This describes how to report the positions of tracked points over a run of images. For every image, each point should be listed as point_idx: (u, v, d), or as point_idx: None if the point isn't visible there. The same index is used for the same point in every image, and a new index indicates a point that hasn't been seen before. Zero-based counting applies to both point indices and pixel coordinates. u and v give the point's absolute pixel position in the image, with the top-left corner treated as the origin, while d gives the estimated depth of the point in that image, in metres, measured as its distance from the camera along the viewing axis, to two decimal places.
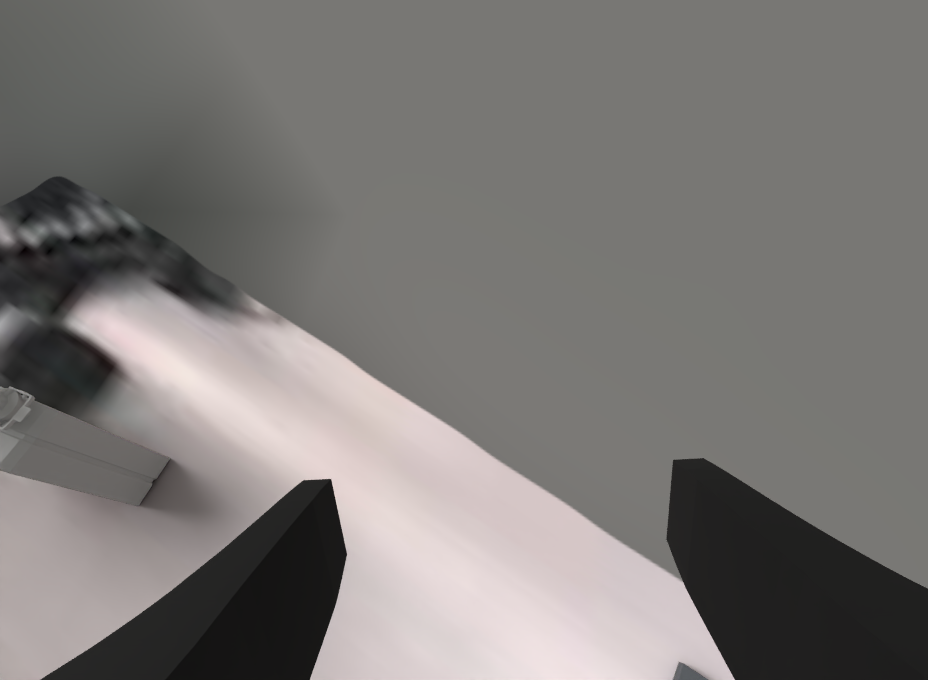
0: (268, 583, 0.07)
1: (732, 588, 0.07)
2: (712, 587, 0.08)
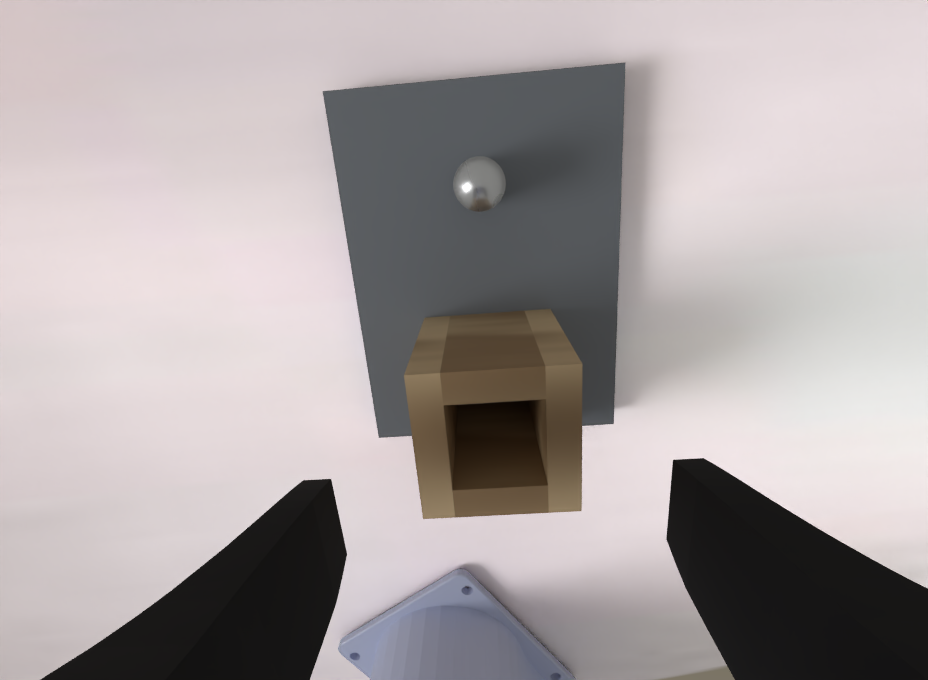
0: (268, 583, 0.07)
1: (732, 588, 0.07)
2: (712, 587, 0.08)
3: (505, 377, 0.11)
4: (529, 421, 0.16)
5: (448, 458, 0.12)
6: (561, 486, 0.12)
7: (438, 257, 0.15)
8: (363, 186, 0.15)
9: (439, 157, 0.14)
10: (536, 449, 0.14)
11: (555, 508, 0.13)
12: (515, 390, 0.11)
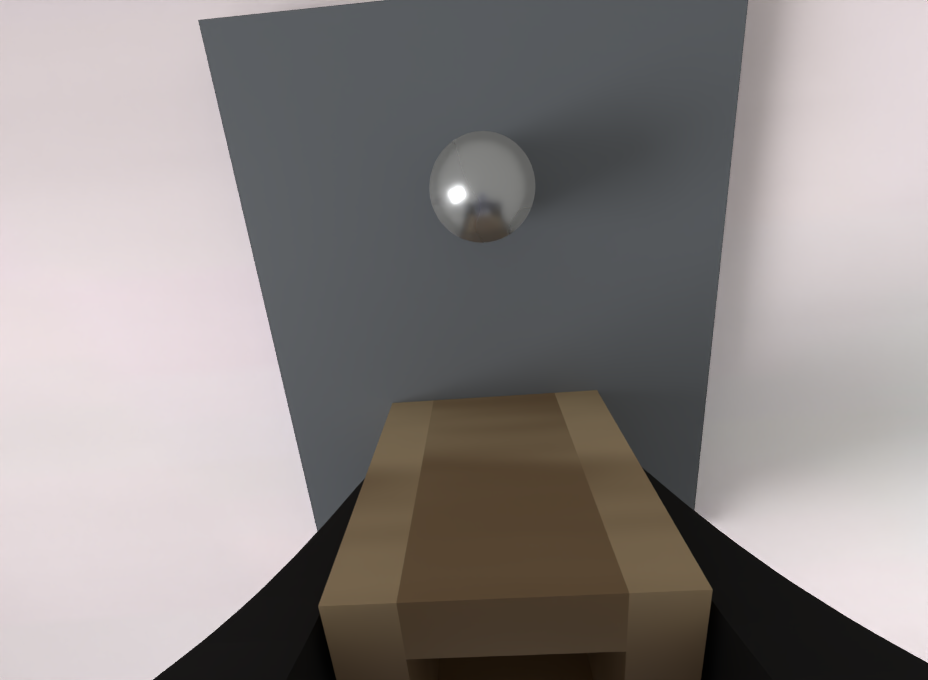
0: None
1: None
2: None
3: (539, 612, 0.05)
4: None
5: None
6: None
7: (412, 309, 0.09)
8: (281, 191, 0.08)
9: (410, 140, 0.08)
10: (583, 660, 0.08)
11: None
12: (560, 635, 0.05)
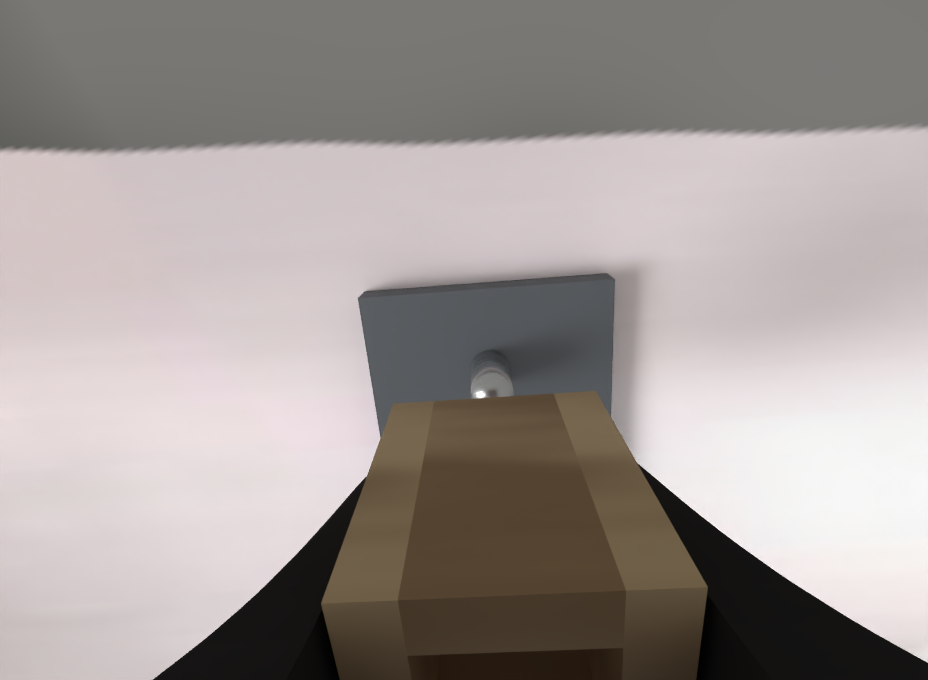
0: None
1: None
2: None
3: (538, 609, 0.05)
4: None
5: None
6: None
7: None
8: (391, 369, 0.17)
9: (456, 347, 0.17)
10: (582, 658, 0.08)
11: None
12: (559, 632, 0.05)
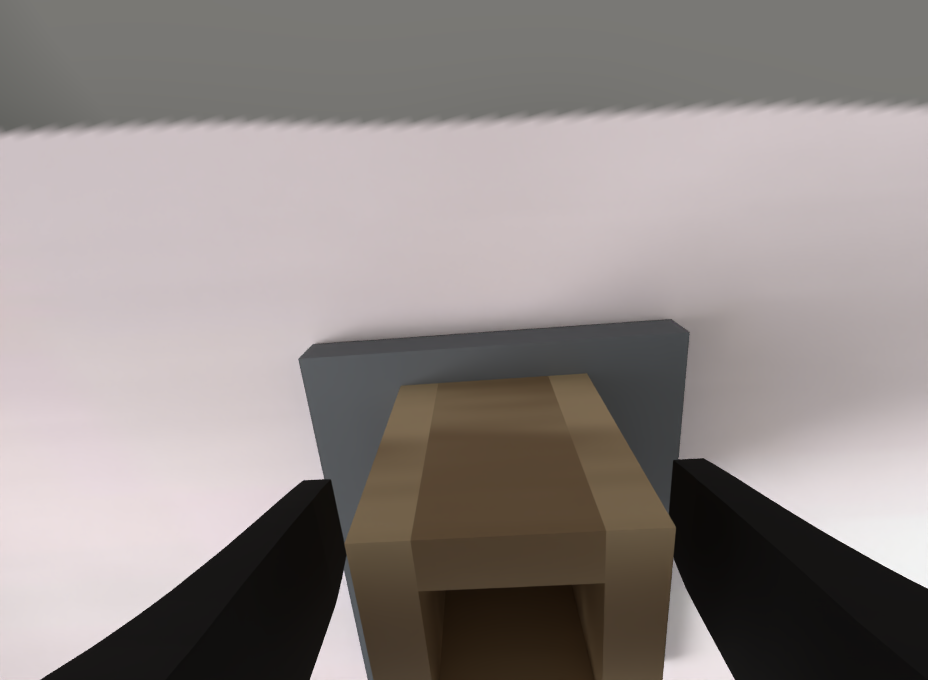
0: (268, 583, 0.07)
1: (732, 588, 0.07)
2: (712, 587, 0.08)
3: (531, 548, 0.06)
4: None
5: (430, 669, 0.07)
6: None
7: None
8: (351, 458, 0.12)
9: None
10: (573, 610, 0.09)
11: None
12: (549, 569, 0.06)
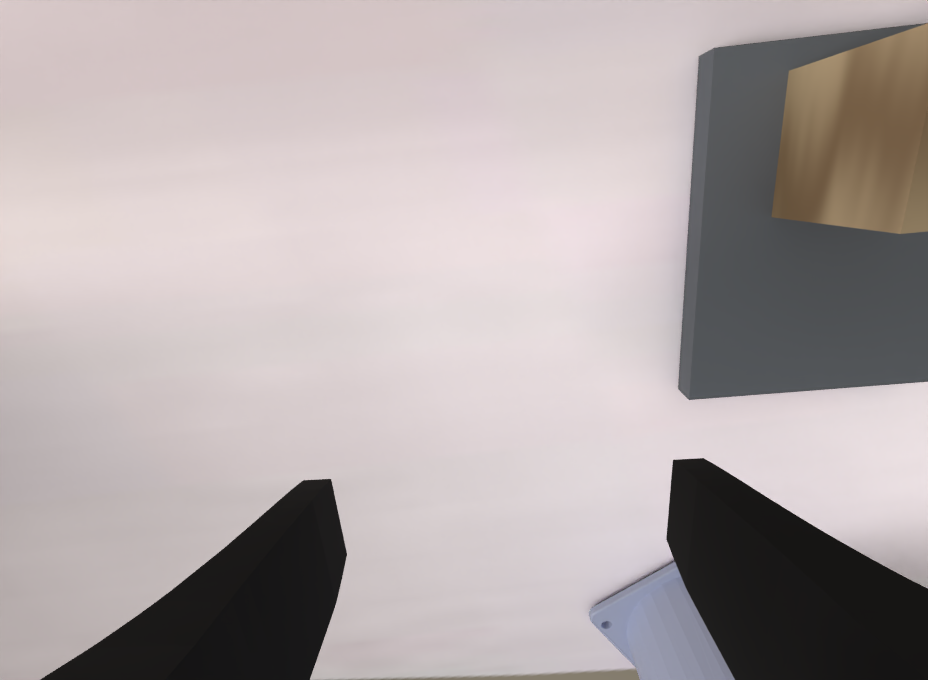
0: (268, 583, 0.07)
1: (732, 588, 0.07)
2: (712, 587, 0.08)
3: None
4: None
5: None
6: None
7: None
8: (733, 143, 0.15)
9: None
10: None
11: None
12: None
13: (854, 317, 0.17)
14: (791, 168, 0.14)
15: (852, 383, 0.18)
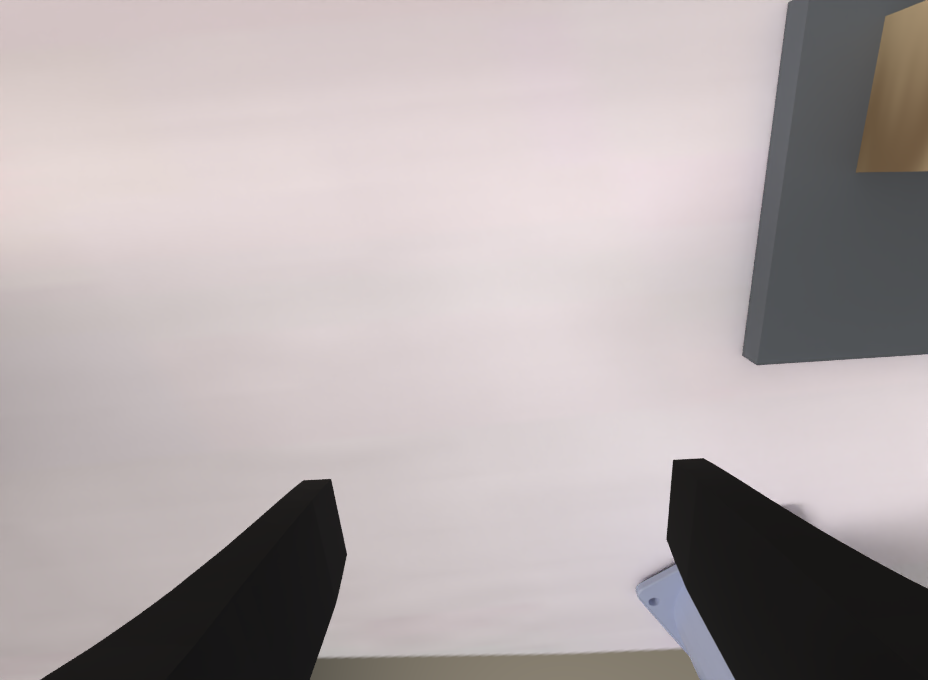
0: (268, 583, 0.07)
1: (732, 588, 0.07)
2: (712, 587, 0.08)
3: None
4: None
5: None
6: None
7: None
8: (822, 93, 0.14)
9: None
10: None
11: None
12: None
13: None
14: (884, 118, 0.14)
15: (925, 350, 0.17)
